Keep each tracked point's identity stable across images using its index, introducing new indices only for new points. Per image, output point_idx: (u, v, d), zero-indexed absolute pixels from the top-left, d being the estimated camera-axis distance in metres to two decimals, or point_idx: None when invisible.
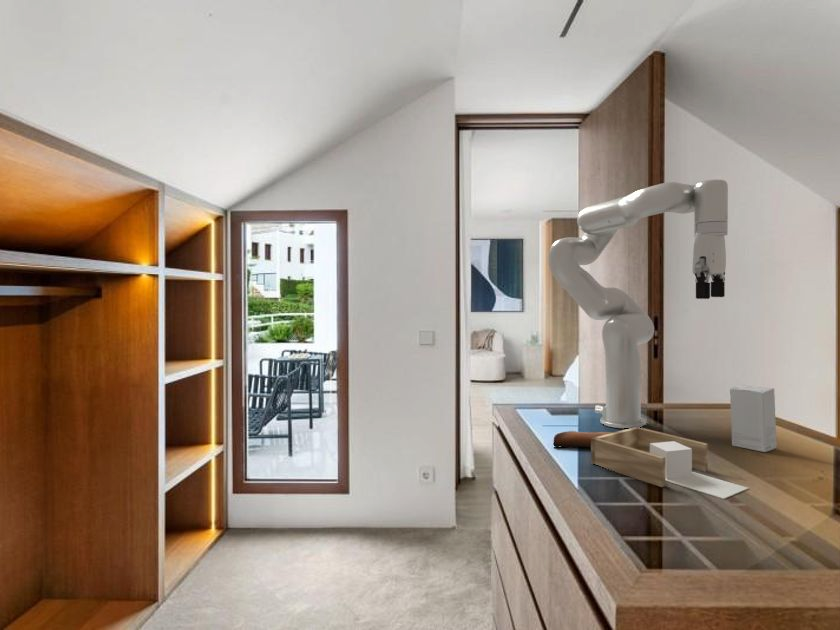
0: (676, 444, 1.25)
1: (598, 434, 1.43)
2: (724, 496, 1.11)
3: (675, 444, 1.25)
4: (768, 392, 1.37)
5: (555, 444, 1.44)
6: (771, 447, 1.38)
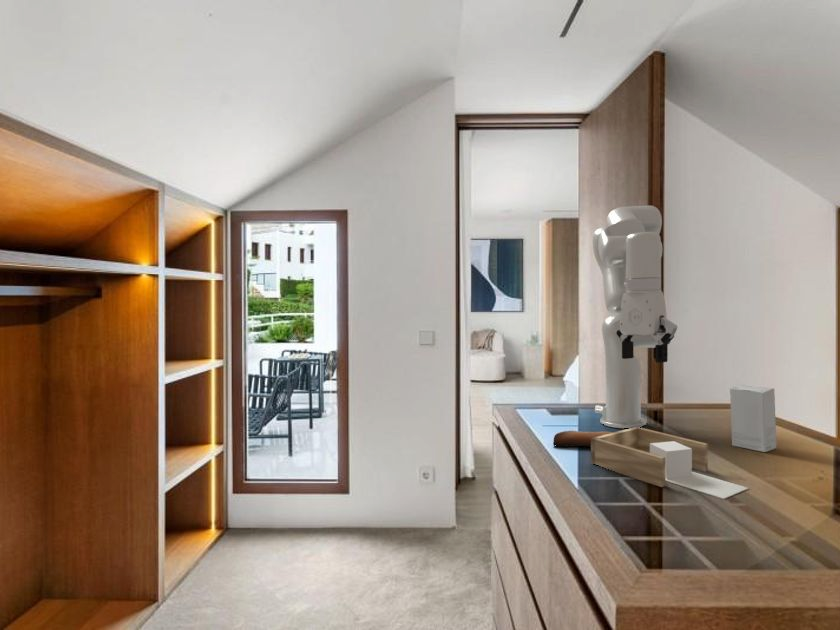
0: (676, 444, 1.25)
1: (598, 434, 1.44)
2: (724, 496, 1.11)
3: (675, 444, 1.25)
4: (768, 392, 1.37)
5: (555, 443, 1.45)
6: (771, 447, 1.38)
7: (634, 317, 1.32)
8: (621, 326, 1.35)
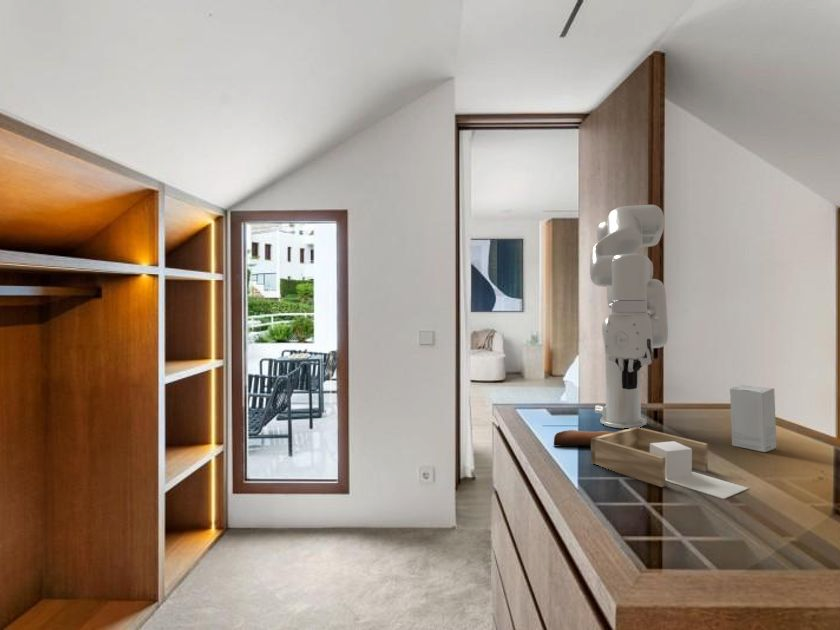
0: (676, 444, 1.25)
1: (599, 433, 1.44)
2: (724, 496, 1.11)
3: (675, 444, 1.25)
4: (768, 392, 1.37)
5: (555, 443, 1.45)
6: (771, 447, 1.38)
7: (620, 339, 1.29)
8: (606, 348, 1.33)
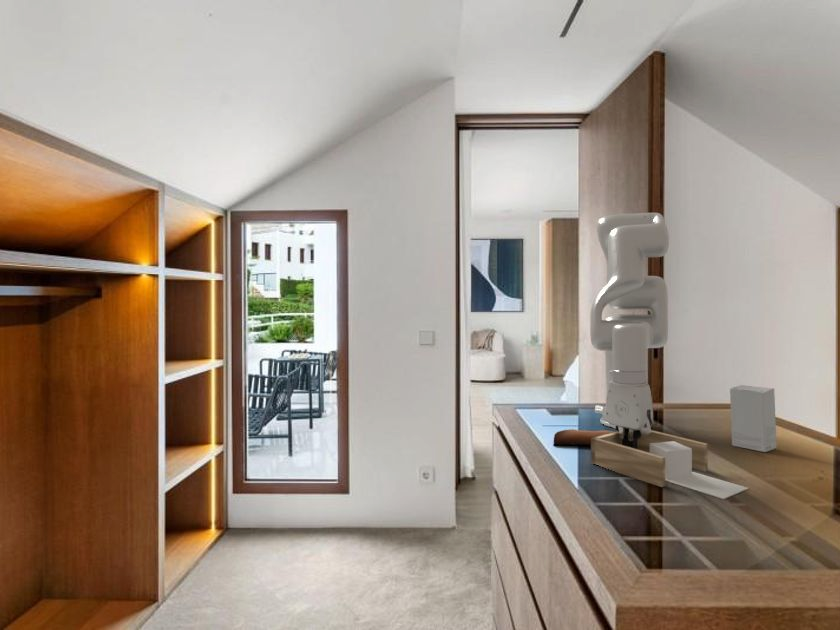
0: (676, 444, 1.25)
1: (598, 433, 1.45)
2: (724, 496, 1.11)
3: (675, 444, 1.25)
4: (768, 392, 1.37)
5: (555, 442, 1.46)
6: (771, 447, 1.38)
7: (620, 409, 1.31)
8: (607, 415, 1.34)
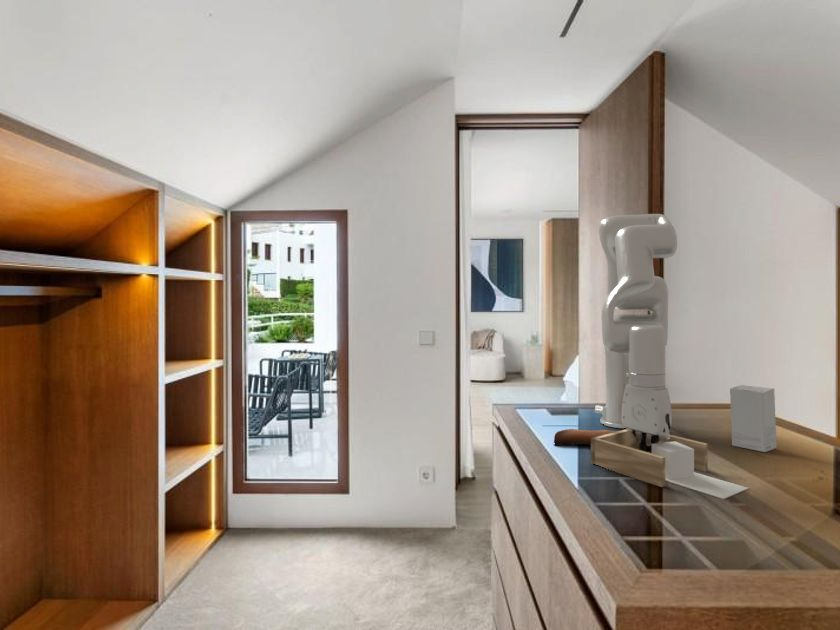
0: (678, 444, 1.24)
1: (599, 432, 1.45)
2: (724, 496, 1.11)
3: (677, 444, 1.24)
4: (768, 392, 1.37)
5: (556, 442, 1.47)
6: (771, 447, 1.38)
7: (638, 413, 1.27)
8: (623, 419, 1.30)
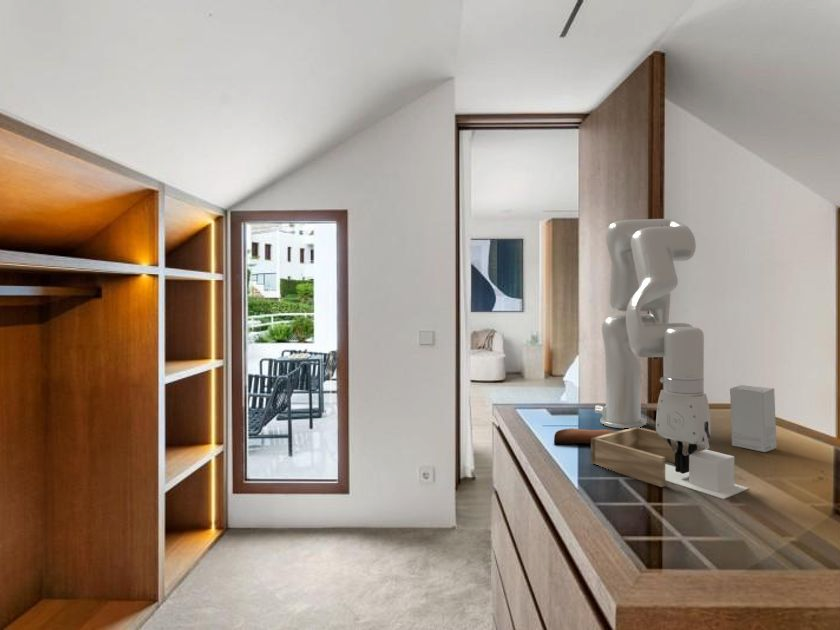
0: (713, 453, 1.18)
1: (599, 432, 1.46)
2: (724, 496, 1.11)
3: (712, 453, 1.18)
4: (768, 392, 1.37)
5: (556, 441, 1.47)
6: (771, 447, 1.38)
7: (674, 420, 1.19)
8: (658, 427, 1.23)
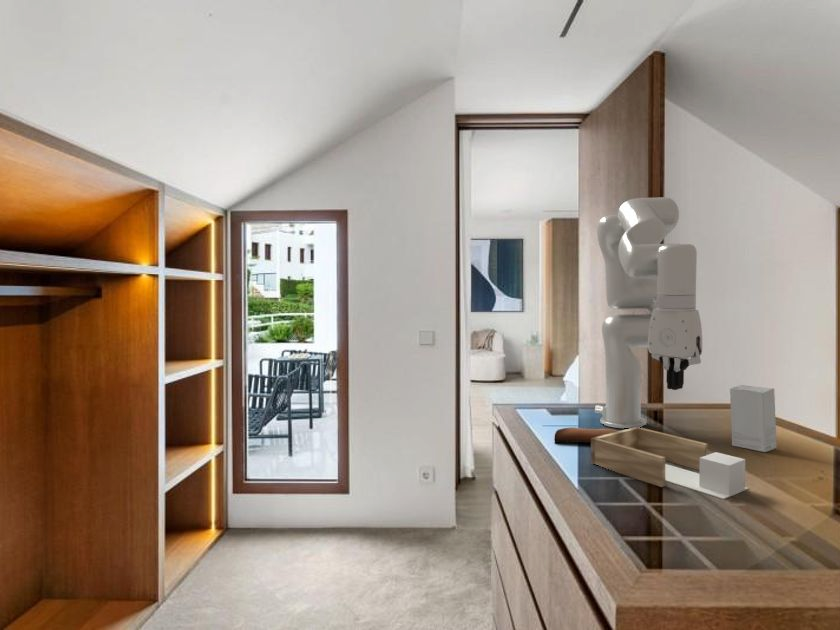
0: (724, 455, 1.16)
1: (599, 431, 1.47)
2: (724, 496, 1.11)
3: (723, 455, 1.16)
4: (768, 392, 1.37)
5: (556, 440, 1.48)
6: (771, 447, 1.38)
7: (666, 337, 1.20)
8: (650, 345, 1.24)
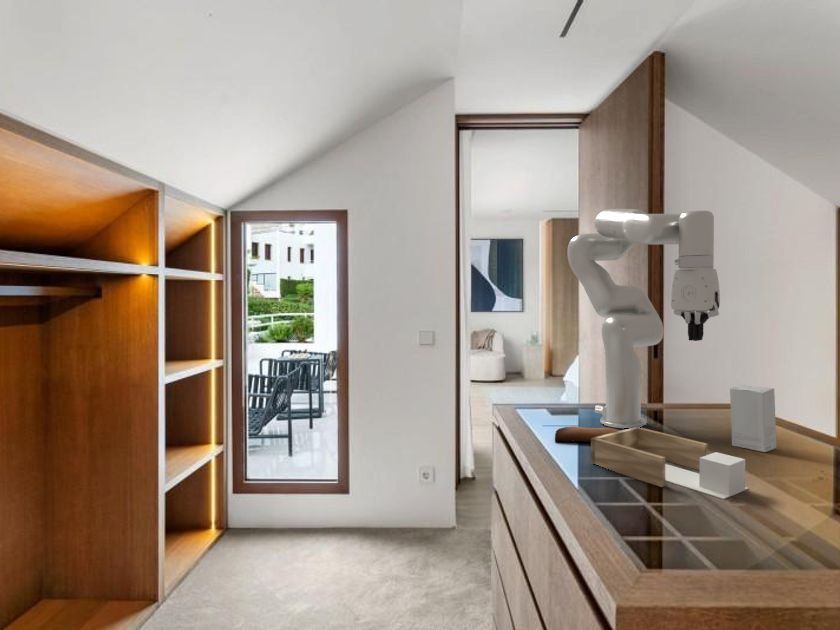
0: (724, 455, 1.16)
1: (599, 430, 1.48)
2: (724, 496, 1.11)
3: (723, 455, 1.16)
4: (768, 392, 1.37)
5: (556, 439, 1.49)
6: (771, 447, 1.38)
7: (688, 293, 1.36)
8: (673, 302, 1.39)
